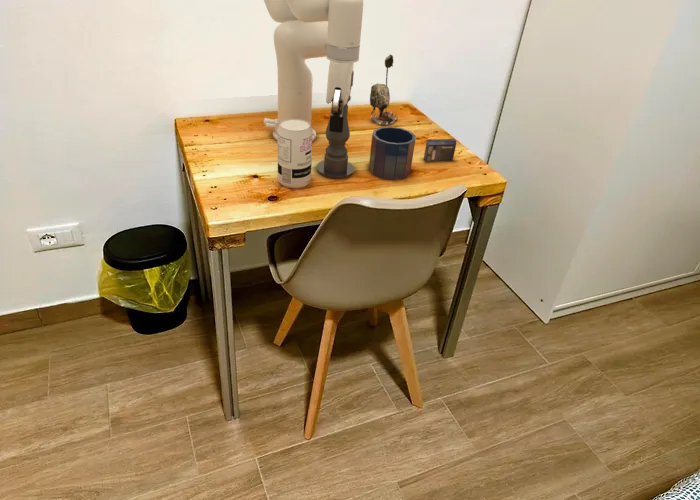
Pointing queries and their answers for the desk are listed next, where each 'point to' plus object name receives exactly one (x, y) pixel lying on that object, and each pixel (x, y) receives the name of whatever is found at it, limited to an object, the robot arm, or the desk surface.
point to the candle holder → (338, 144)
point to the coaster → (331, 175)
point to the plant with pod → (382, 99)
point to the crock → (391, 153)
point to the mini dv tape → (439, 150)
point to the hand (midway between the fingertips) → (338, 125)
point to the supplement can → (294, 153)
